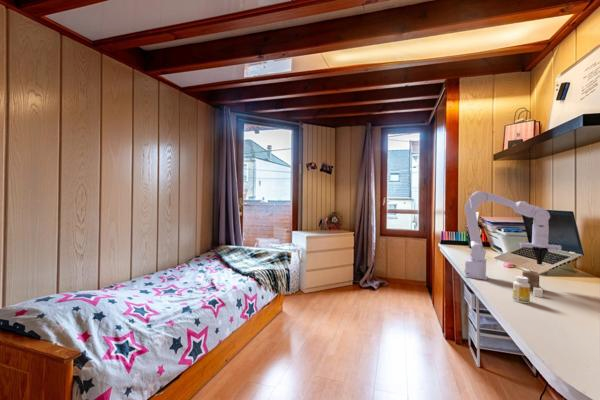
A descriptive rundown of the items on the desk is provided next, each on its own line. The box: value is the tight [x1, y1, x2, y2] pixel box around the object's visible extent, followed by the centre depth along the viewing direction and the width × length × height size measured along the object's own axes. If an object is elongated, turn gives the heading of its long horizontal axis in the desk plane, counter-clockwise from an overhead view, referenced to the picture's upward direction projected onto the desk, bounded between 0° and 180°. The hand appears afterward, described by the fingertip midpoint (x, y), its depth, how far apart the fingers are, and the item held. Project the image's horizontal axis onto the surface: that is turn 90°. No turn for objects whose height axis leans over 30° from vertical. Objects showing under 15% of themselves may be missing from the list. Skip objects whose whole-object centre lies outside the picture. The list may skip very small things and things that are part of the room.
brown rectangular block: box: [521, 269, 540, 289], centre depth 127 cm, size 5×5×7 cm
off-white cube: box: [532, 287, 544, 298], centre depth 118 cm, size 3×3×3 cm
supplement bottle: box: [512, 275, 531, 304], centre depth 113 cm, size 5×5×10 cm
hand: (539, 264), depth 130 cm, fingers closed
